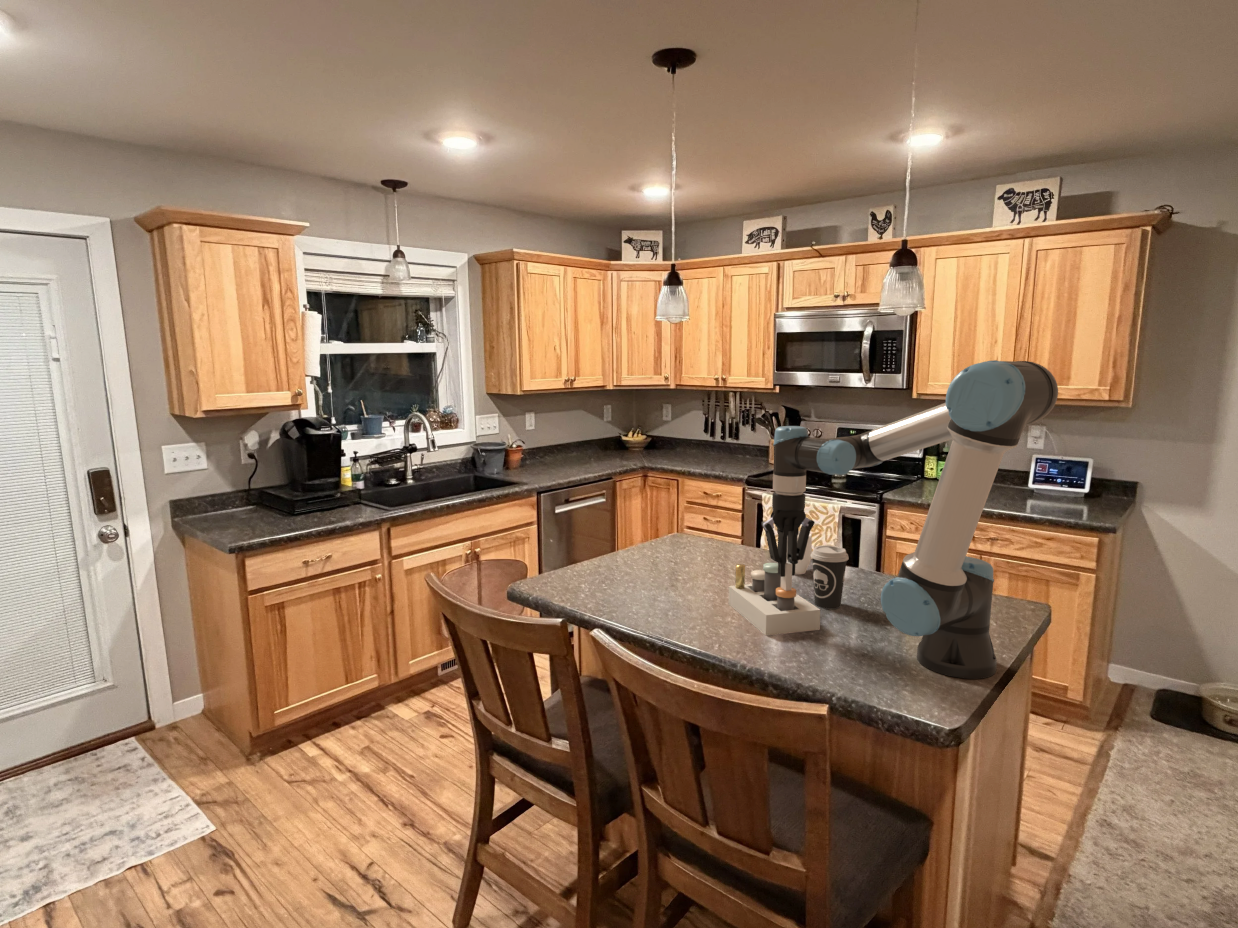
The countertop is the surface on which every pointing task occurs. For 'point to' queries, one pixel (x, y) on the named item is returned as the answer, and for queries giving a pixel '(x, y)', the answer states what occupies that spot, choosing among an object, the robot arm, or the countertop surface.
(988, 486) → the robot arm
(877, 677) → the countertop surface
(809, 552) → the mug
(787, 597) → the knob
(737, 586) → the cylinder
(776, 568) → the knob
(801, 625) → the panel
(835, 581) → the coffee cup
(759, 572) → the knob
